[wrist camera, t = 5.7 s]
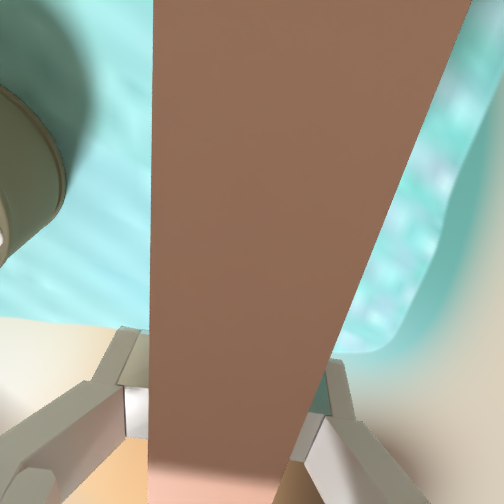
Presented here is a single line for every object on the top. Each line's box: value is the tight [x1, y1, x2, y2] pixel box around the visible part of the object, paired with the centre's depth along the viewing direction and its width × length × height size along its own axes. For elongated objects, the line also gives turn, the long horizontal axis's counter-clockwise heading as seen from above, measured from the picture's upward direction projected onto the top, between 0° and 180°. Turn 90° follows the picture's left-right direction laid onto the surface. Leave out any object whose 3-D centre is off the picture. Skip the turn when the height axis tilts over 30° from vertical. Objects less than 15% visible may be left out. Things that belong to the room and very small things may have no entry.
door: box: [147, 0, 472, 504], centre depth 12 cm, size 4×17×13 cm, turn 171°
